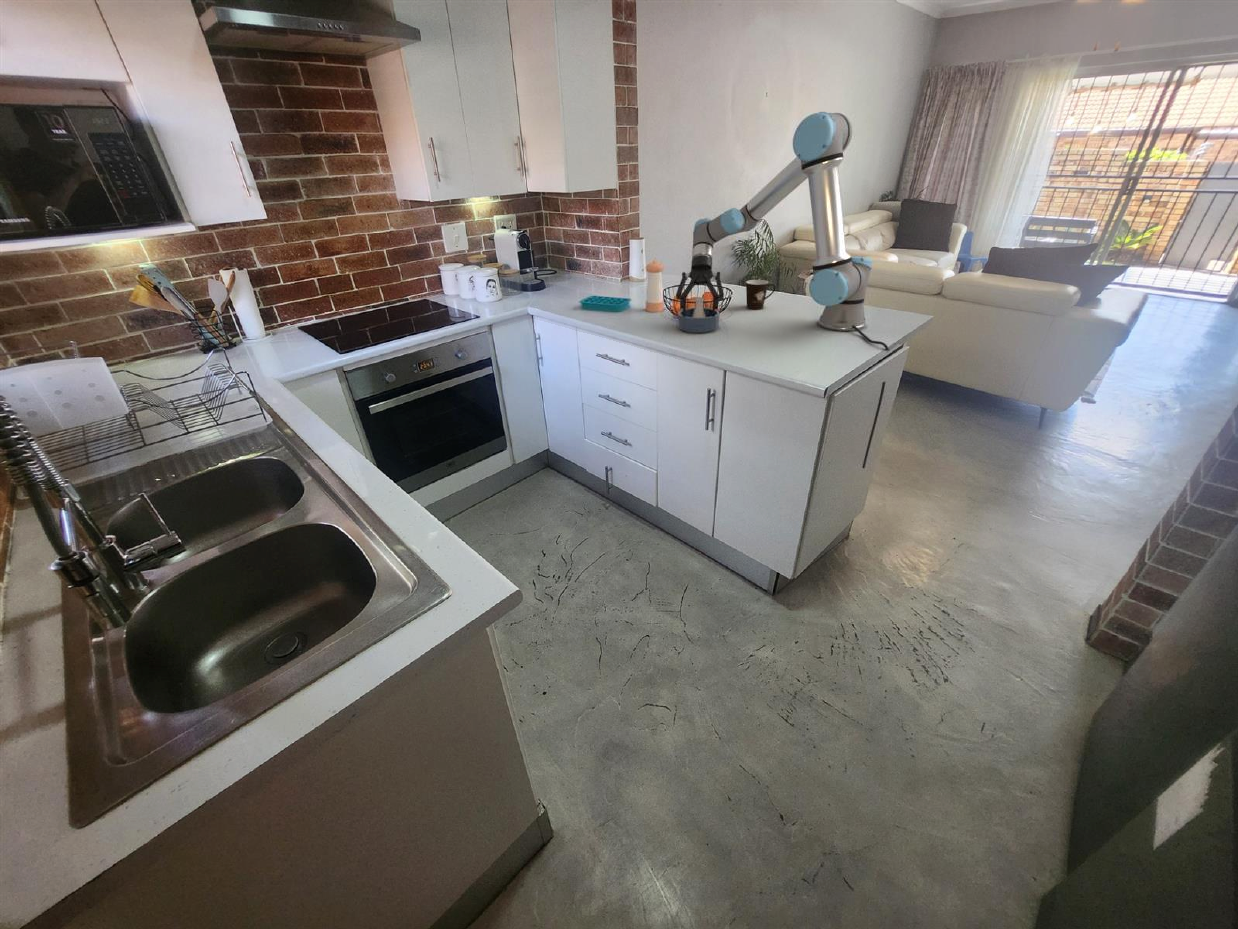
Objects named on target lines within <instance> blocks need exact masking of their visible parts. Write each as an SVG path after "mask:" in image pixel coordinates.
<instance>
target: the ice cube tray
mask: <svg viewBox="0 0 1238 929" xmlns="http://www.w3.org/2000/svg"><path fill="white" fill-rule="evenodd" d="M631 301H632V298H627V297H617V296H616V297H615V296H602V295H590V296H588V297H585V298H583V299H581V300H579V301H578V303H580V304H581V309H582V310H592V311H602V312H612V313H620V312H622V311H624V310H626V309H627V308H629V307H630V302H631Z"/></svg>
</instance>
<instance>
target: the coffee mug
mask: <svg viewBox="0 0 1238 929" xmlns="http://www.w3.org/2000/svg"><path fill="white" fill-rule="evenodd" d="M770 286H772V287H773V290H772V291H771V293H769V294H768V295H767V291H768V288H769V287H770ZM745 289H746V290H745V292H746V309H748V310H751V311H759V310H763V309H764V305H765V301H766V300H767V299H768V298H769V297H771V296H772V295H773V294H774V293H775V291H776V285H775V284H774V283H769V280H765V279H750V280H747V281H745Z"/></svg>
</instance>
